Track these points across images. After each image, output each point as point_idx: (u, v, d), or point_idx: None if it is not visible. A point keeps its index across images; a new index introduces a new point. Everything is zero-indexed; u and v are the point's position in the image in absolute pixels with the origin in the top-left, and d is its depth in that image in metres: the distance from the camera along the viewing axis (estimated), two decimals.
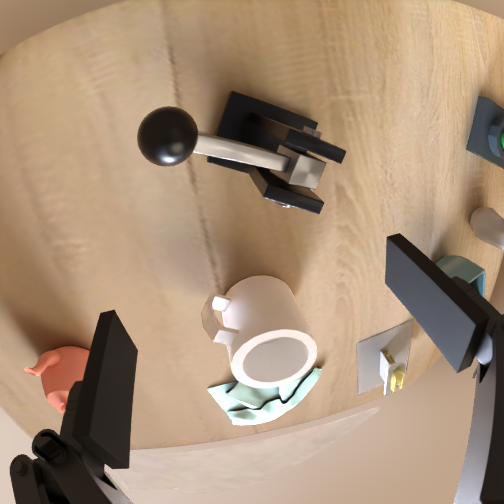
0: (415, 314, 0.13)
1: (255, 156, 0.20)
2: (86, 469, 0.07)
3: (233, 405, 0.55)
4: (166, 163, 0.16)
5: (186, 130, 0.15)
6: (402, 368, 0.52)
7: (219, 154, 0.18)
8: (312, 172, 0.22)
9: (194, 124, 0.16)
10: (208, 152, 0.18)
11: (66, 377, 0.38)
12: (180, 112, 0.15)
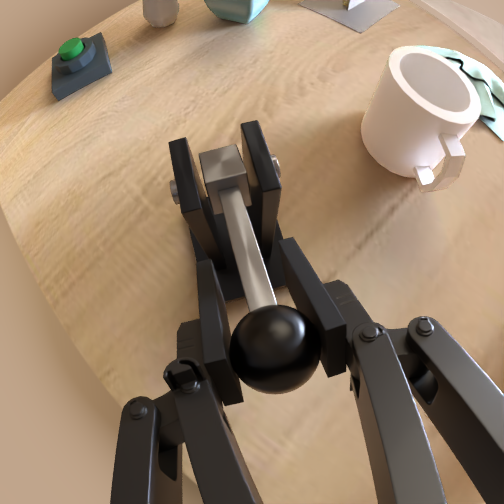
0: None
1: (238, 227, 0.15)
2: (217, 408, 0.09)
3: (499, 108, 0.35)
4: (309, 329, 0.11)
5: (249, 331, 0.11)
6: None
7: (261, 269, 0.13)
8: (218, 158, 0.17)
9: (238, 325, 0.11)
10: (266, 284, 0.13)
11: None
12: (232, 353, 0.11)
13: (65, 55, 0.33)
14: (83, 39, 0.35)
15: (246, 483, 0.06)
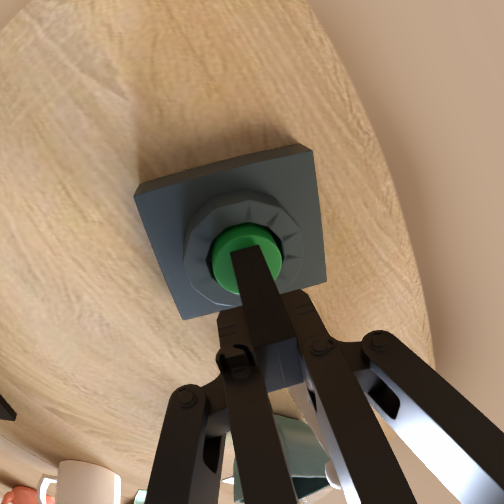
0: None
1: None
2: (267, 395, 0.09)
3: None
4: None
5: None
6: None
7: None
8: None
9: None
10: None
11: None
12: None
13: (213, 255, 0.17)
14: (287, 277, 0.18)
15: (288, 474, 0.06)
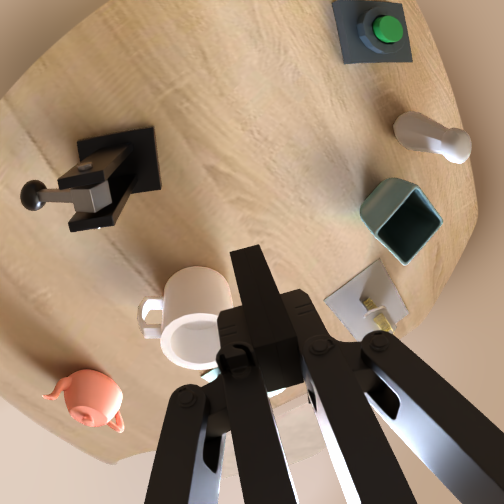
0: None
1: (59, 196, 0.27)
2: (266, 395, 0.09)
3: None
4: None
5: (24, 194, 0.27)
6: (384, 312, 0.51)
7: (47, 200, 0.28)
8: (84, 199, 0.25)
9: (30, 188, 0.27)
10: (43, 200, 0.28)
11: (77, 395, 0.47)
12: (26, 184, 0.27)
13: (377, 22, 0.29)
14: (400, 43, 0.31)
15: (288, 474, 0.06)
